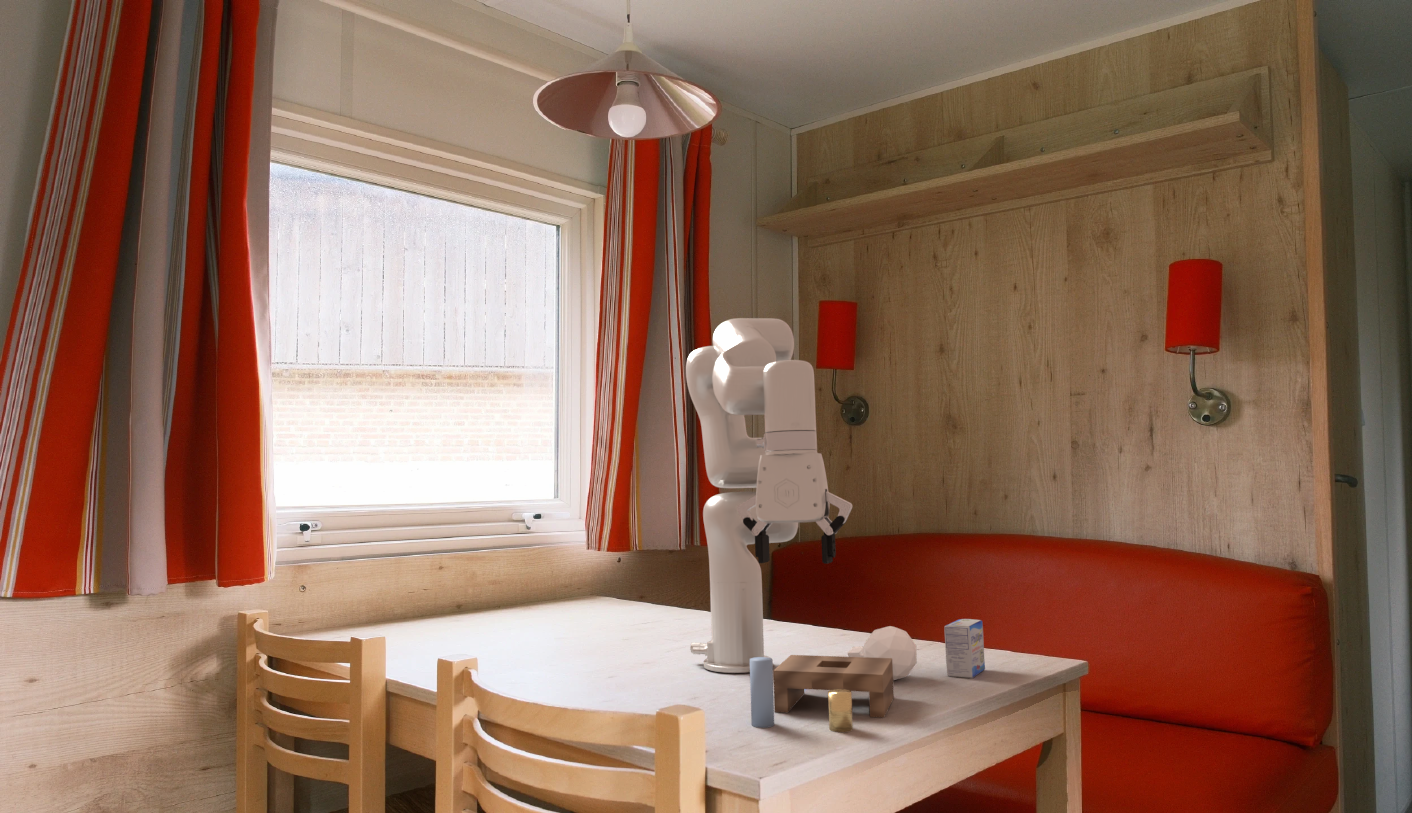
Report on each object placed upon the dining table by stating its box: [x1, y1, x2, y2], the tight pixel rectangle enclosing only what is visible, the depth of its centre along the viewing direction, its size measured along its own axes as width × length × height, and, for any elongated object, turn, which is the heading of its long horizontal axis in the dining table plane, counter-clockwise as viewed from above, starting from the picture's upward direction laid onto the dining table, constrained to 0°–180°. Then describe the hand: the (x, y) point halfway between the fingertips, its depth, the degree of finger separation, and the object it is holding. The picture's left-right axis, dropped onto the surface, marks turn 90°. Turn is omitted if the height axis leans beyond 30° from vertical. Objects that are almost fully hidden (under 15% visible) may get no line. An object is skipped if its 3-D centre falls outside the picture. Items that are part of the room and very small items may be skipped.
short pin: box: [827, 689, 854, 733], centre depth 128 cm, size 3×3×5 cm
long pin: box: [749, 656, 775, 729], centre depth 132 cm, size 3×3×9 cm
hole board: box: [773, 654, 895, 719], centre depth 142 cm, size 16×12×6 cm
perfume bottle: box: [847, 625, 918, 681], centre depth 159 cm, size 9×9×12 cm
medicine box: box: [944, 618, 986, 679], centre depth 161 cm, size 8×4×9 cm, turn 148°
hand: (795, 562), depth 136 cm, fingers open, 9 cm apart
